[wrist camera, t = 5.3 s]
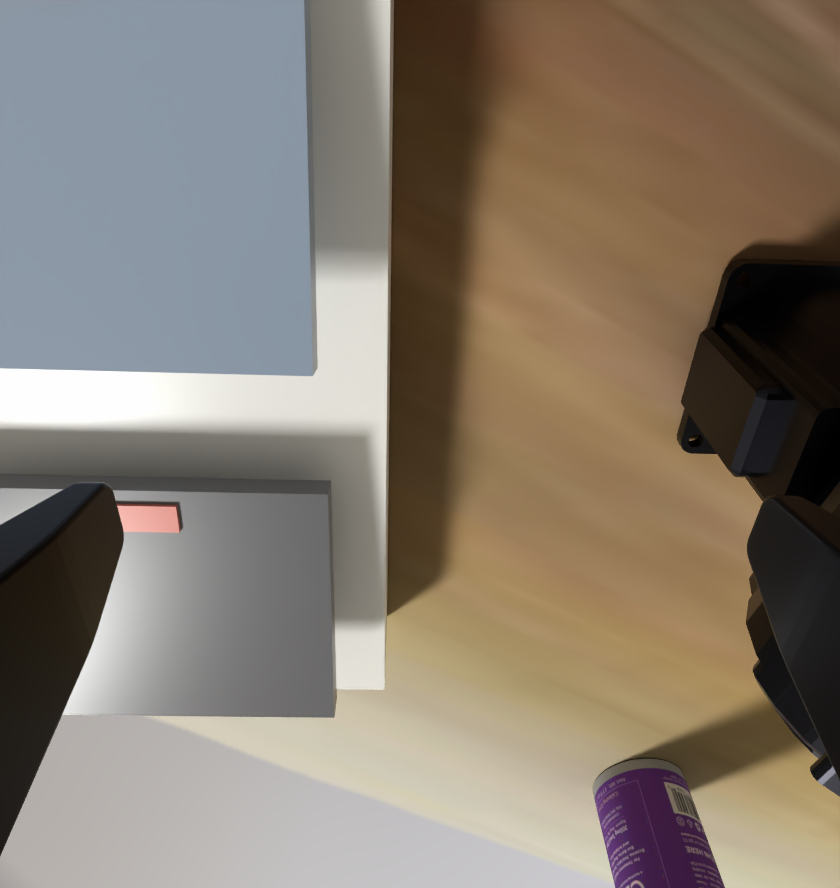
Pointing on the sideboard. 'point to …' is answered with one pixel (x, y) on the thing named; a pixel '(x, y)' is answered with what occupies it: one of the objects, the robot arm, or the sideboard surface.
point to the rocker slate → (157, 186)
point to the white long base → (274, 396)
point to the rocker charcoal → (209, 597)
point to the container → (653, 828)
